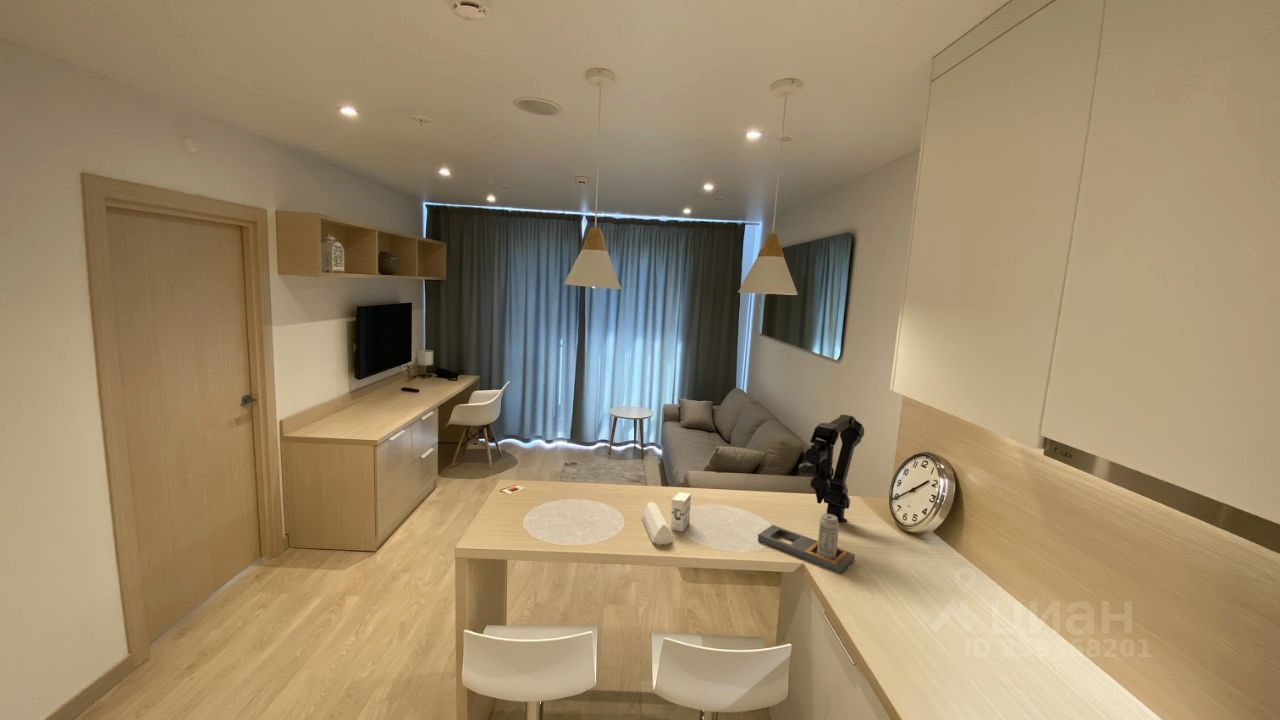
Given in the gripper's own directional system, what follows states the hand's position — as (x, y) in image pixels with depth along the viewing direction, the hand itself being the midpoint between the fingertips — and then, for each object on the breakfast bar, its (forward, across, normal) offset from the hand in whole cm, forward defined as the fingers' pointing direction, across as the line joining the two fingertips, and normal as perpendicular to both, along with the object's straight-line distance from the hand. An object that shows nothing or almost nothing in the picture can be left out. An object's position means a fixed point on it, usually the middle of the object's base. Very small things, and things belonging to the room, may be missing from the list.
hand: (820, 498), depth 189 cm
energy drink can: (+13, +20, +5) cm, 24 cm away
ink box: (+13, +22, -47) cm, 53 cm away
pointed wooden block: (+14, +29, -53) cm, 62 cm away
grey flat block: (+13, +18, -2) cm, 22 cm away
